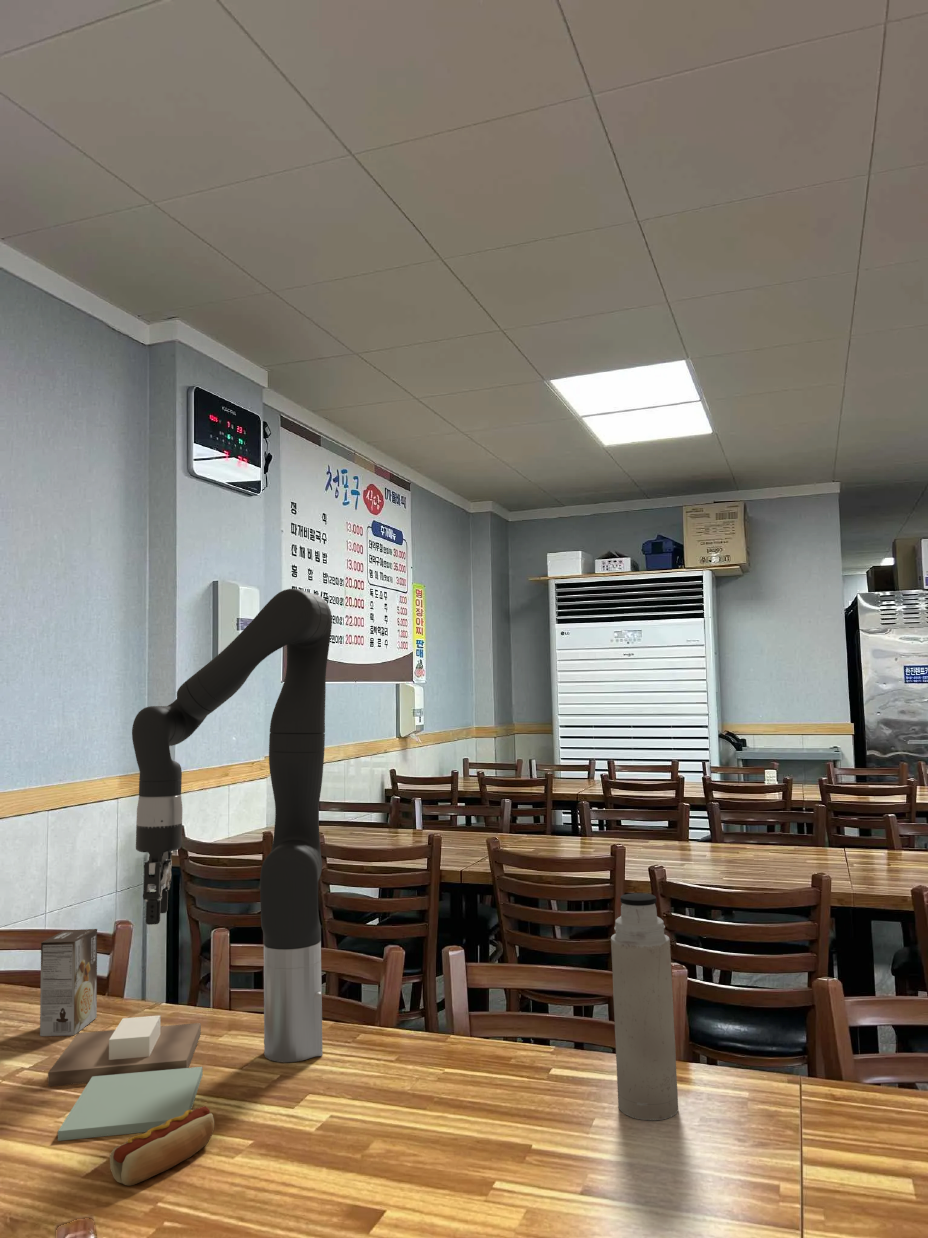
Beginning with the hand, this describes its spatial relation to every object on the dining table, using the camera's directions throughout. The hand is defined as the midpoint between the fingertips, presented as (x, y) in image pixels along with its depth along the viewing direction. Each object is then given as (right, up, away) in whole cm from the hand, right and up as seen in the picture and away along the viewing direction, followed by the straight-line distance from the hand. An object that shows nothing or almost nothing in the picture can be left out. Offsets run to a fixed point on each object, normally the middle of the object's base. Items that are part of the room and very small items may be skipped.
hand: (156, 918), depth 153 cm
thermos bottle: (+77, -15, -32) cm, 85 cm away
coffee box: (-18, -22, +7) cm, 29 cm away
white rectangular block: (0, -18, -9) cm, 20 cm away
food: (+16, -16, -44) cm, 49 cm away
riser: (-1, -20, -9) cm, 22 cm away
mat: (+6, -18, -27) cm, 33 cm away
